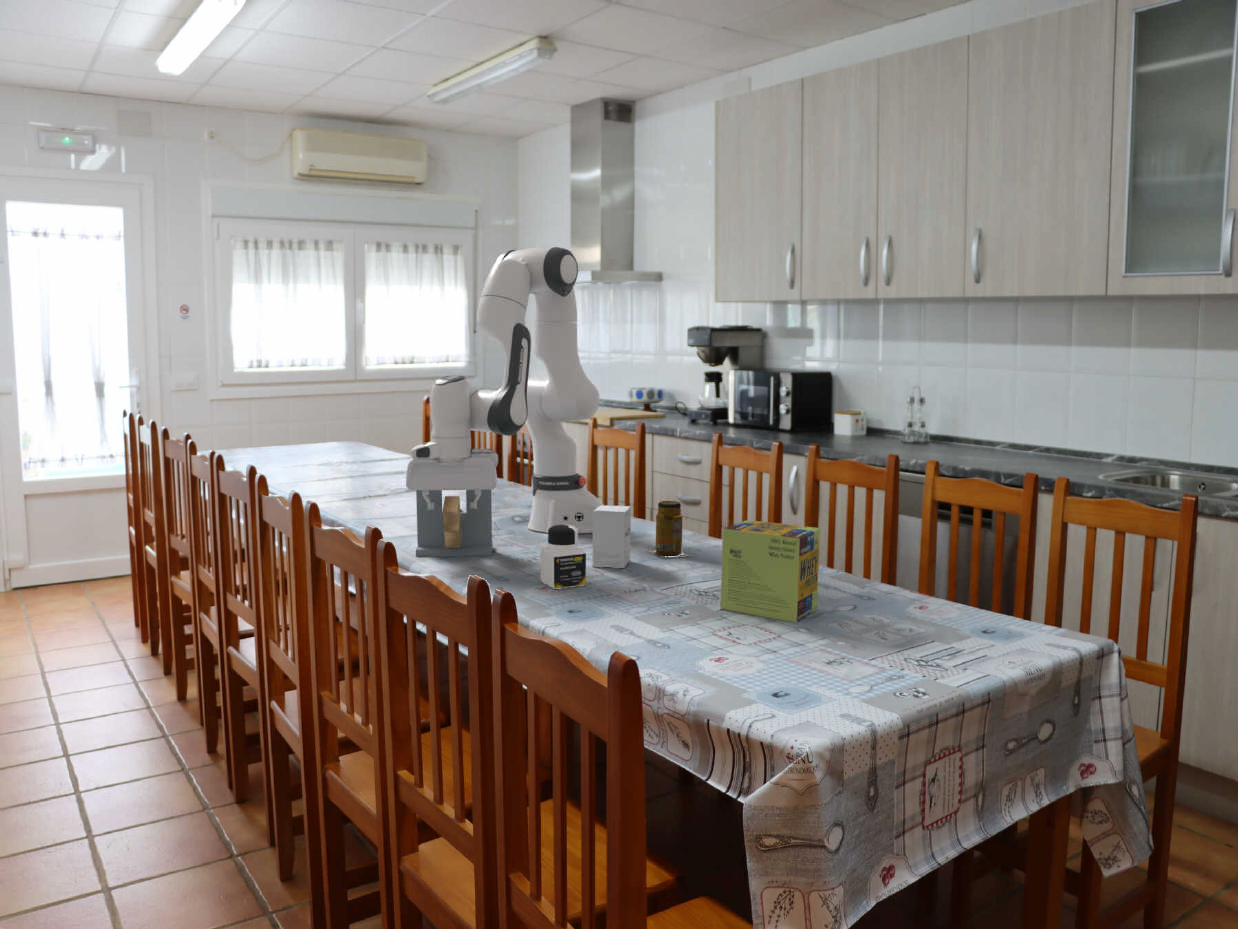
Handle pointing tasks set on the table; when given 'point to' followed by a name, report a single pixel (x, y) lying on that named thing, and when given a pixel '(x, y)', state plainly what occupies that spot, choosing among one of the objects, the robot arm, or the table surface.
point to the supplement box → (611, 536)
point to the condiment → (668, 530)
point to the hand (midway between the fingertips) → (452, 509)
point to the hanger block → (452, 521)
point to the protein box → (770, 569)
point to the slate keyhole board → (472, 524)
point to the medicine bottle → (563, 558)
